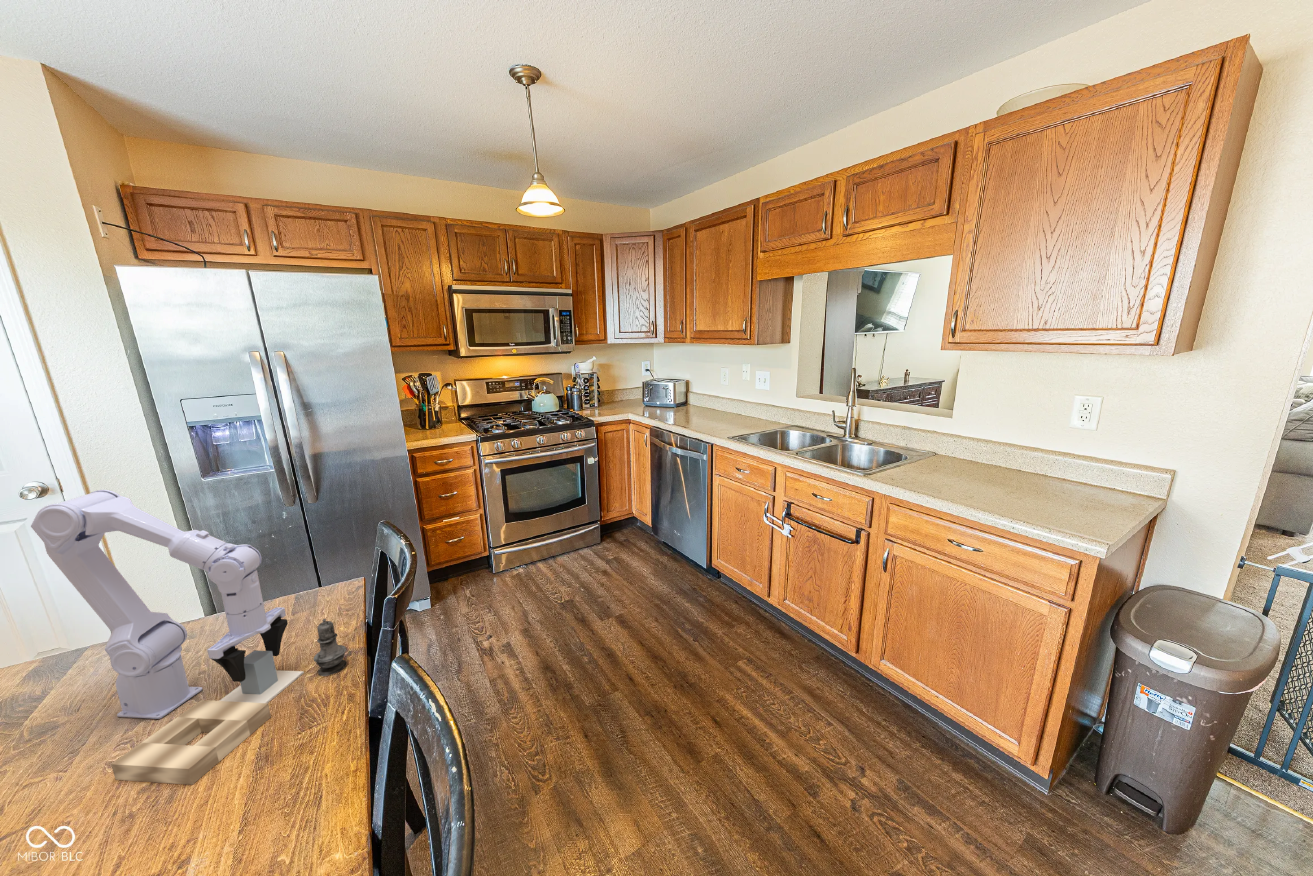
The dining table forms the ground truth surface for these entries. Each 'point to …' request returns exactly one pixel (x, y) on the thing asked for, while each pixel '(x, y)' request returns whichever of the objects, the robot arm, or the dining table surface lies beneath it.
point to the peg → (258, 672)
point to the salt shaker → (329, 650)
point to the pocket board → (167, 747)
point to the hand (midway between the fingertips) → (257, 667)
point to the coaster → (283, 681)
